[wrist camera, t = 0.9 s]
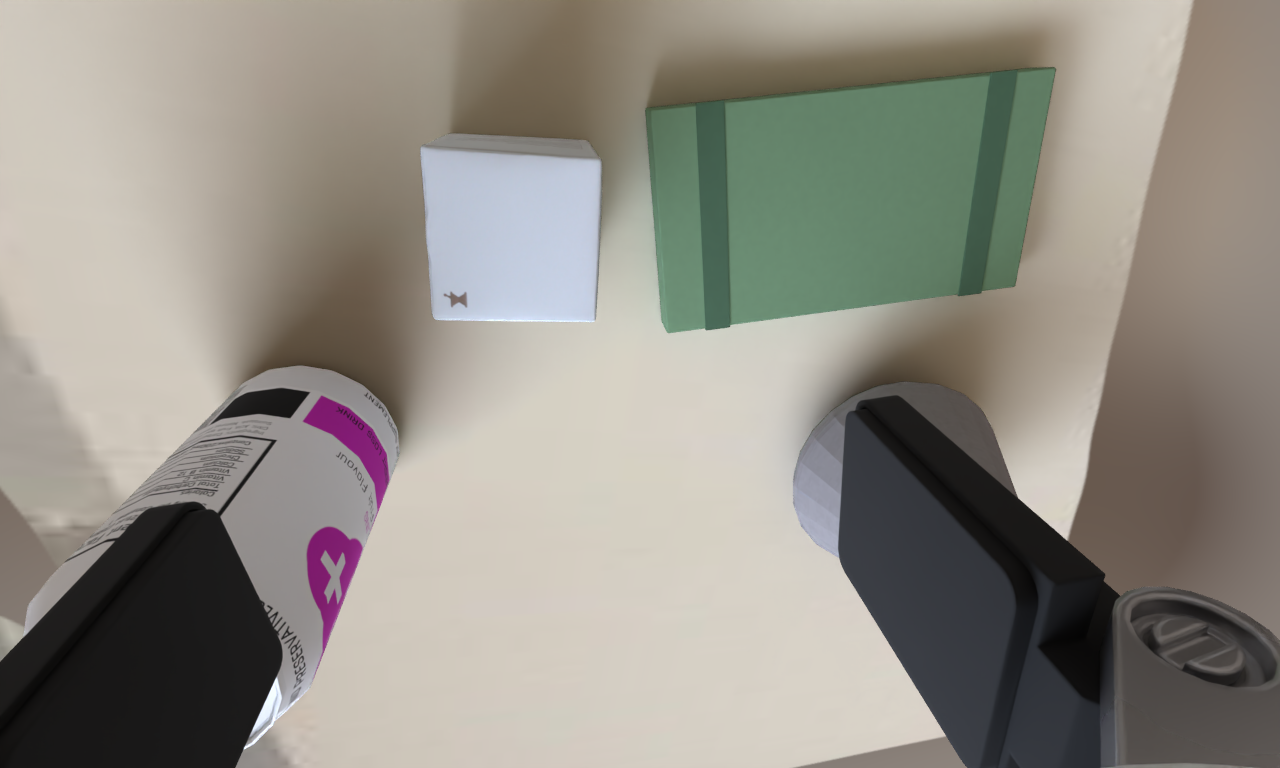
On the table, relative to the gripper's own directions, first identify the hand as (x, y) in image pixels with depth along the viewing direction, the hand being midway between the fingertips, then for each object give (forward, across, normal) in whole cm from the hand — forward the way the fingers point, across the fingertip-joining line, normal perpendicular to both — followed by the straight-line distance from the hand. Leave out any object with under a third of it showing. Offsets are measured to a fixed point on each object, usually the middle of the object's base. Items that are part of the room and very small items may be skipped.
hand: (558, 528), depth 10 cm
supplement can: (+22, +13, +9) cm, 27 cm away
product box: (+22, +1, -1) cm, 22 cm away
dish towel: (+22, -14, 0) cm, 26 cm away
